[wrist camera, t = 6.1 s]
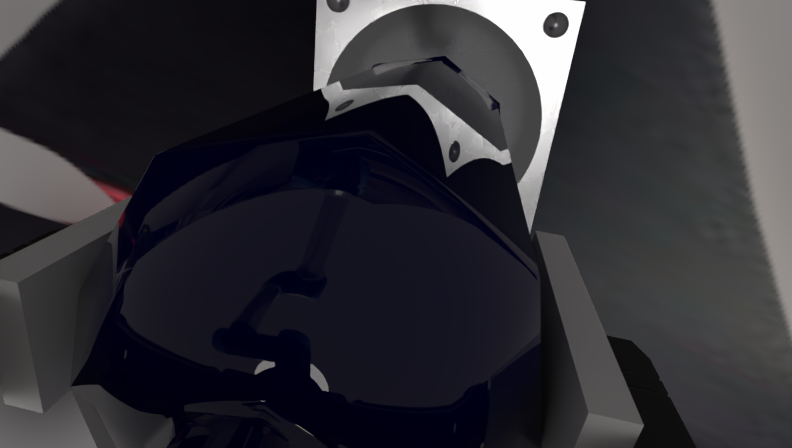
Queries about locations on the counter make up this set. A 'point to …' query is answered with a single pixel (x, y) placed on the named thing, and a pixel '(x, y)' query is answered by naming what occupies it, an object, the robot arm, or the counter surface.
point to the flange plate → (467, 59)
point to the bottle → (322, 280)
